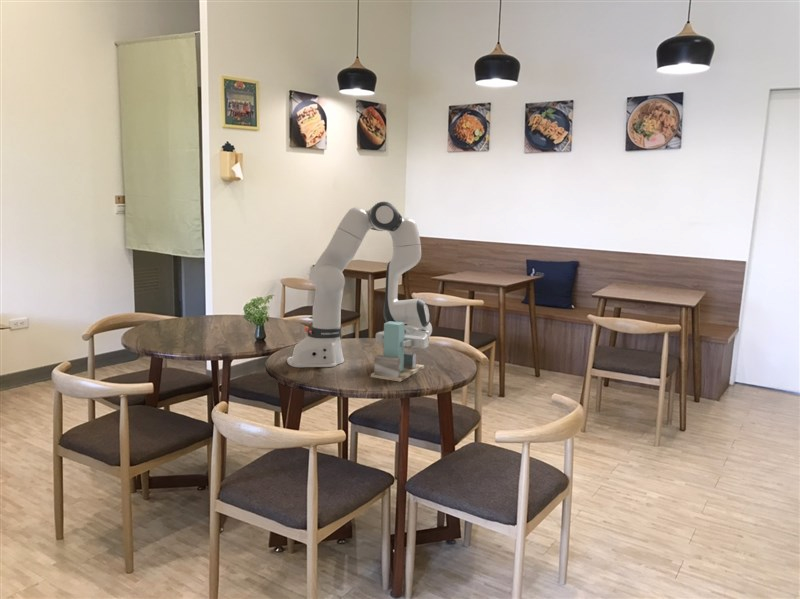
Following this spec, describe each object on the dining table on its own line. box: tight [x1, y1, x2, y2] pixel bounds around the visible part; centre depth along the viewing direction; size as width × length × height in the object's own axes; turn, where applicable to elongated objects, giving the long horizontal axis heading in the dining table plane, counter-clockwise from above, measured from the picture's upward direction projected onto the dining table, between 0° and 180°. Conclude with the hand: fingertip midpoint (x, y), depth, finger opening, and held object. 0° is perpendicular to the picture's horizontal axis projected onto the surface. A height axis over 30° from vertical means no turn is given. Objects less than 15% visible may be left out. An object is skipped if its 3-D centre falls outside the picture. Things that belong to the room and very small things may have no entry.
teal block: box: [383, 321, 405, 372], centre depth 237 cm, size 5×6×18 cm
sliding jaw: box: [404, 351, 417, 369], centre depth 246 cm, size 3×9×5 cm, turn 65°
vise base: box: [370, 354, 425, 383], centre depth 242 cm, size 22×12×8 cm, turn 155°
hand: (393, 343), depth 236 cm, fingers closed on teal block, 6 cm apart
